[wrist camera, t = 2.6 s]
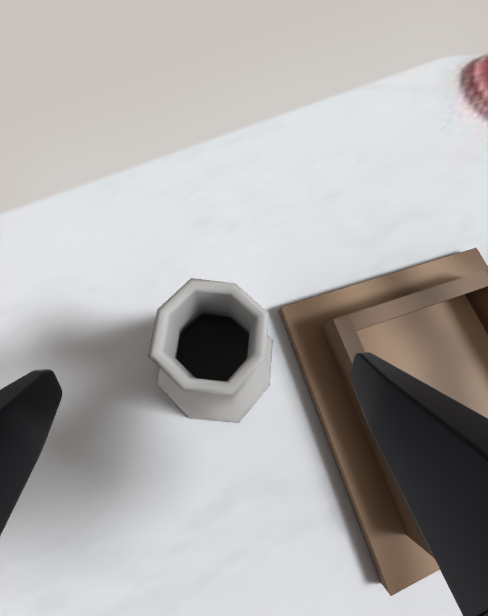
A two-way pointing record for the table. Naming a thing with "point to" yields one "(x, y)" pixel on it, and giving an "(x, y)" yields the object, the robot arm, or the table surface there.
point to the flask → (212, 350)
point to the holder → (406, 356)
